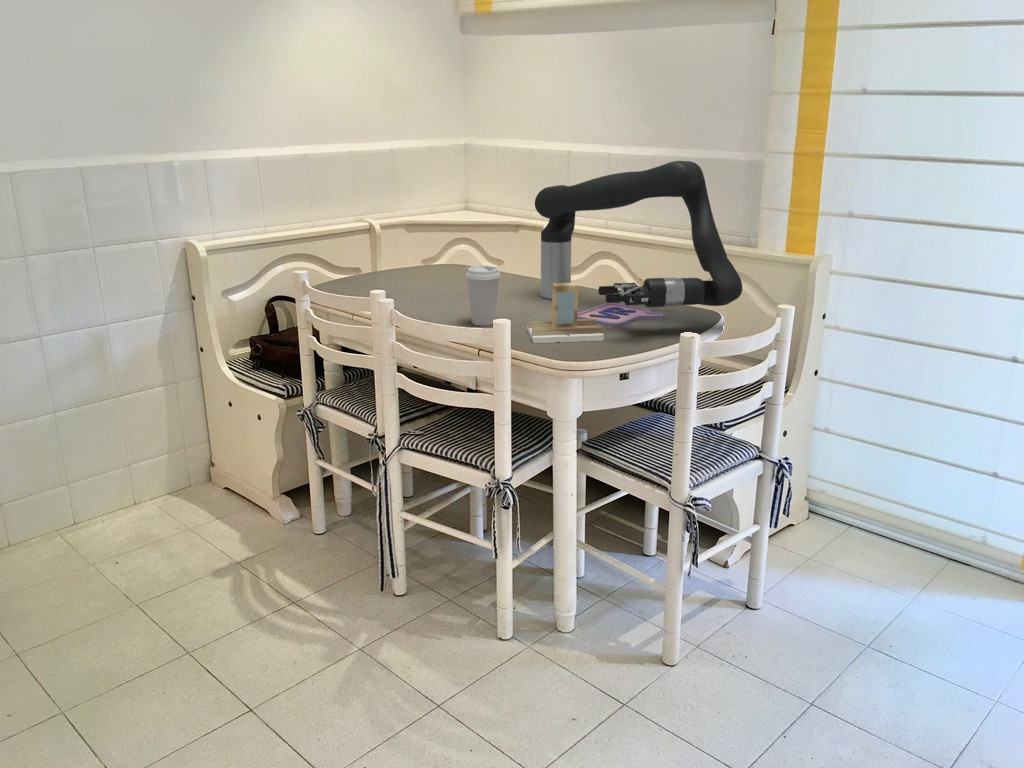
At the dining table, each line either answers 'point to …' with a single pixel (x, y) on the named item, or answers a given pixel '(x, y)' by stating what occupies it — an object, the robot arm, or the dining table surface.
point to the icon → (617, 314)
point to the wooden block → (564, 305)
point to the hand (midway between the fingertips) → (602, 294)
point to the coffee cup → (483, 293)
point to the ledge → (565, 332)
